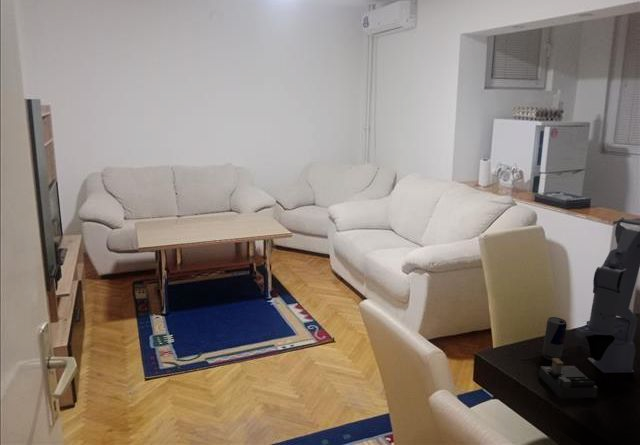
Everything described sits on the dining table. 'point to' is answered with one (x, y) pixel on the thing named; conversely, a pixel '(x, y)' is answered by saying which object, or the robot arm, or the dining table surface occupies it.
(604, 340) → the robot arm
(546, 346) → the energy drink
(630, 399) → the dining table surface
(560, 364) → the breaker toggle
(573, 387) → the breaker box
